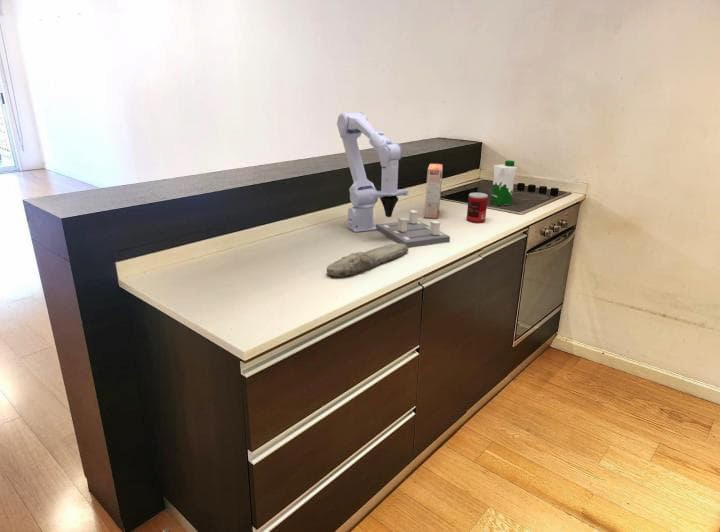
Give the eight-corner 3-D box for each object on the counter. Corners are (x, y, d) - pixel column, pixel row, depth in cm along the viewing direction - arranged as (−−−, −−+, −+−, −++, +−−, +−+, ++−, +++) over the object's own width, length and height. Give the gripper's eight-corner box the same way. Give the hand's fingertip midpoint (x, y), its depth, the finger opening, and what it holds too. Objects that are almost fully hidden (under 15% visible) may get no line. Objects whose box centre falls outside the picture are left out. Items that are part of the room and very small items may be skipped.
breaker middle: (401, 231, 181) (402, 220, 180) (397, 229, 184) (398, 218, 183) (406, 231, 182) (407, 219, 181) (402, 228, 185) (403, 217, 183)
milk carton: (514, 205, 230) (520, 162, 223) (497, 207, 227) (502, 163, 220) (504, 201, 238) (509, 159, 230) (487, 202, 235) (491, 160, 228)
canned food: (483, 218, 209) (486, 192, 205) (486, 223, 202) (489, 197, 198) (465, 217, 210) (467, 192, 206) (467, 222, 202) (469, 196, 198)
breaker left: (412, 223, 192) (413, 212, 190) (408, 221, 194) (409, 210, 193) (417, 223, 192) (418, 212, 191) (413, 221, 195) (414, 210, 194)
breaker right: (434, 235, 178) (435, 223, 176) (429, 232, 181) (430, 221, 179) (439, 234, 179) (440, 222, 177) (434, 232, 182) (435, 220, 180)
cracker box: (438, 219, 207) (441, 169, 199) (423, 218, 208) (426, 168, 201) (440, 211, 220) (443, 163, 212) (426, 210, 221) (429, 163, 213)
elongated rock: (415, 258, 167) (392, 252, 174) (416, 243, 166) (393, 238, 172) (342, 281, 143) (319, 274, 149) (342, 263, 141) (318, 257, 148)
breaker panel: (405, 247, 172) (405, 242, 171) (376, 229, 192) (376, 224, 192) (449, 241, 179) (449, 236, 178) (416, 224, 199) (416, 219, 198)
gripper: (375, 182, 168) (375, 221, 173) (413, 179, 173) (411, 217, 178) (367, 178, 174) (366, 216, 179) (403, 176, 179) (402, 212, 184)
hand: (388, 216), depth 179 cm, fingers closed
